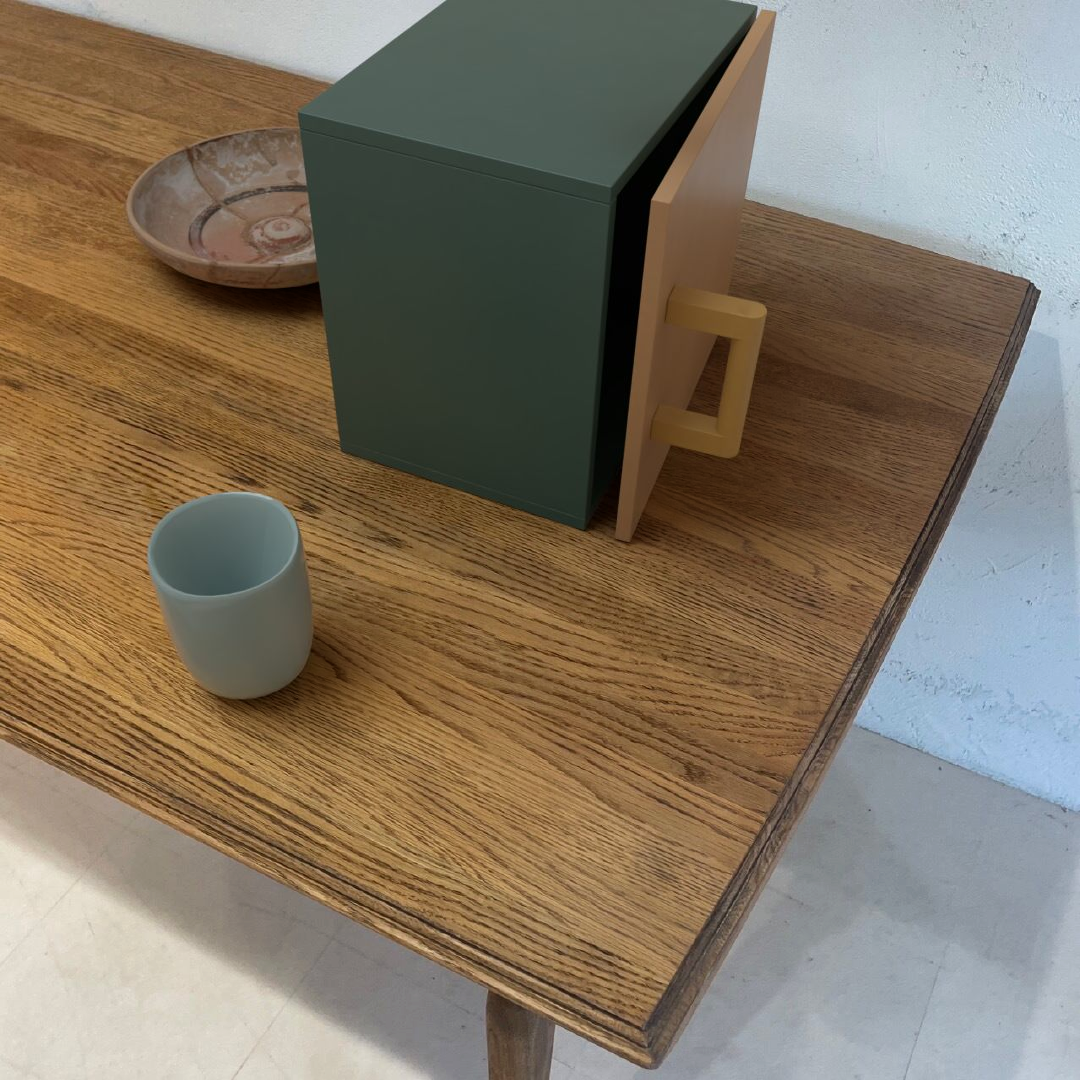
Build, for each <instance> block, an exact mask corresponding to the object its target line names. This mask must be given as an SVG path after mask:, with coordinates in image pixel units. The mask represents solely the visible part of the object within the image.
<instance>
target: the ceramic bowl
mask: <svg viewBox="0 0 1080 1080" xmlns="http://www.w3.org/2000/svg"><path fill="white" fill-rule="evenodd" d="M125 205H126V206H125V207H126V208H125V209H126V210H125V211H126V212H125V213H126V217H127V222H128V224H129V226H130V229H131V231H132V233H133V234H134V236H135V237H136V239H137V240H138V241H139V242H140V244H141V245H142V246H143V247H144V248H145V249H146V250H147V251H148V252H149V253H151V254H152V255H153V256H154V257H156V258H157V260H159V261H161V262H162V263H164V264H165V265H167V266H168V267H171V268H172V269H174V270H176V271H177V272H179V273H182V274H184V275H187V276H189V277H191V278H195V279H198V280H201V281H204V282H207V283H212V284H216V285H221V286H227V287H235V288H245V289H284V288H285V289H286V288H292V287H303V286H307V285H310V284H311V285H312V284H315V283H319V277H318V269H317V261H316V254H315V246H314V238H313V230H312V223H311V215H310V207H309V199H308V191H307V184H306V176H305V168H304V160H303V153H302V145H301V137H300V128H299V126H266V127H257V128H256V127H255V128H248V129H242V130H236V131H231V132H227V133H224V134H219V135H215V136H212V137H209V138H206V139H205V138H204V139H201V140H199V141H196V142H194V143H192V144H191V143H190V144H189V145H186V146H183V147H180V148H178V149H176V150H174V151H172V152H171V153H168V154H167V155H165V156H163V157H162V158H160V159H159V160H157V161H156V162H154V163H152V164H151V165H150V166H149V167H148V168H146V169H145V170H144V171H143V172H142V173H141V174H140V175H139V177H137V179H136V180H135V181H134V183H133V185H132V186H131V187H130V189H129V191H128V195H127V197H126V204H125Z"/></svg>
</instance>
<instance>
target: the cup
mask: <svg viewBox="0 0 1080 1080" xmlns="http://www.w3.org/2000/svg"><path fill="white" fill-rule="evenodd" d="M305 549H306V548H305V545H304V541H303V536H302V533H301V529H300V525H299V523H298V522H297V520H296V518H295V516H294V514H293V513H292V512H291V510H289V508H288V507H287V506H286V505H285V504H283V503H282V502H280V501H279V500H277V499H275V498H273V497H271V496H268V495H264V494H262V493H256V492H251V491H227V492H218V493H213V494H208V495H204V496H201V497H197V498H194V499H191V500H189V501H187V502H185V503H182V504H180V505H178V506H177V507H175V508H173V510H171V511H170V512H168V513H167V514H166V515H164V516H163V518H162V519H161V520H159V522H158V523H157V524H156V526H155V528H154V530H153V531H152V533H151V535H150V538H149V541H148V543H147V552H146V562H147V570H148V574H149V578H150V582H151V586H152V589H153V592H154V596H155V599H156V601H157V605H158V608H159V612H160V613H161V616H162V621H163V622H164V625H165V628H166V630H167V632H168V635H169V638H170V641H171V643H172V646H173V647H174V650H175V652H176V654H177V656H178V659H179V660H180V661H181V663H182V665H183V667H184V668H185V670H186V671H187V673H189V675H190V676H191V677H192V678H193V680H194V681H195V683H197V684H198V685H199V686H200V687H202V688H203V689H204V690H206V691H207V692H209V693H211V694H213V695H216V696H218V697H220V698H224V699H231V700H250V699H257V698H261V697H265V696H268V695H271V694H274V693H275V692H278V691H280V690H282V689H284V688H285V687H287V686H288V685H290V684H291V683H292V682H293V681H294V680H295V679H297V677H298V676H299V675H300V673H301V672H302V670H303V669H304V668H305V666H306V664H307V661H308V660H309V657H310V654H311V651H312V645H313V639H314V630H315V629H314V628H315V624H314V623H315V622H314V602H313V592H312V586H311V578H310V572H309V565H308V561H307V555H306V554H307V553H306V550H305Z"/></svg>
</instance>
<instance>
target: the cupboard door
mask: <svg viewBox="0 0 1080 1080" xmlns="http://www.w3.org/2000/svg"><path fill="white" fill-rule="evenodd" d="M776 19H777V11H776V10H772V9H771V10H770V9H765V8H764V9H763V8H762V9H761V10H760V11H759V14H757V16H756V20H755V22H754V24H753V25H752V27H751V29H750V31H749V32H748V34H747V36H746V38H745V39H744V41H743V43H742V44H741V46H740V48H739V50H738V51H737V53H736V55H735V56H734V58H733V60H732V62H731V63H730V65H729V67H728V69H727V70H726V72H725V74H724V75H723V77H722V79H721V81H720V82H719V84H718V86H717V87H716V89H715V91H714V93H713V94H712V96H711V98H710V100H709V101H708V103H707V105H706V106H705V108H704V110H703V112H702V113H701V115H700V117H699V119H698V120H697V122H696V124H695V125H694V127H693V129H692V131H691V132H690V134H689V136H688V137H687V139H686V141H685V143H684V144H683V146H682V148H681V150H680V151H679V153H678V155H677V156H676V158H675V160H674V162H673V163H672V165H671V167H670V168H669V170H668V172H667V174H666V175H665V177H664V179H663V181H662V182H661V184H660V186H659V187H658V189H657V191H656V193H655V194H654V196H653V198H652V199H651V208H650V217H649V226H648V236H647V245H646V254H645V264H644V273H643V282H642V292H641V301H640V310H639V320H638V329H637V338H636V347H635V357H634V366H633V375H632V385H631V394H630V403H629V413H628V422H627V431H626V441H625V450H624V459H623V465H622V467H621V479H620V488H619V497H618V507H617V515H616V516H617V517H616V523H615V524H616V526H615V533H614V534H615V535H614V539H616V540H619V541H623V542H626V543H631V540H632V538H633V535H634V534H635V531H636V529H637V526H638V524H639V522H640V519H641V517H642V514H643V512H644V510H645V508H646V506H647V502H648V501H649V499H650V496H651V493H652V491H653V489H654V486H655V484H656V482H657V479H658V477H659V475H660V472H661V470H662V468H663V465H664V463H665V462H666V461H665V460H666V458H667V455H668V453H669V450H670V448H671V446H676V447H679V448H683V449H686V450H687V449H688V450H691V451H695V452H698V453H704V454H706V455H711V456H715V457H718V458H723V459H731V458H734V457H736V456H737V455H738V454H739V452H740V447H741V442H742V437H743V433H744V427H745V423H746V418H747V412H748V409H749V403H750V398H751V393H752V389H753V388H752V387H753V383H754V378H755V375H756V374H755V373H756V369H757V363H758V358H759V353H760V348H761V344H762V338H763V335H764V334H763V333H764V329H765V325H766V319H767V315H768V310H767V308H766V306H765V305H764V304H762V303H760V302H758V301H754V300H748V299H746V298H745V299H744V298H740V297H736V296H731V295H729V293H730V288H731V281H732V277H733V276H732V275H733V270H734V264H735V258H736V252H737V247H738V242H739V241H738V240H739V234H740V229H741V223H742V217H743V212H744V206H745V200H746V194H747V187H748V182H749V177H750V171H751V165H752V159H753V154H754V148H755V141H756V136H757V130H758V123H759V118H760V112H761V106H762V101H763V96H764V95H763V94H764V90H765V83H766V77H767V73H768V72H767V71H768V65H769V60H770V55H771V54H770V53H771V48H772V43H773V36H774V32H775V31H774V30H775V26H776ZM719 336H720V337H725V338H729V339H731V340H730V345H729V351H728V358H727V362H726V368H725V374H724V379H723V384H722V390H721V396H720V402H719V407H718V412H717V417H716V416H713V415H712V416H711V415H707V414H703V413H699V412H695V411H691V410H687V409H688V407H689V404H690V402H691V399H692V397H693V395H694V393H695V390H696V388H697V385H698V383H699V380H700V378H701V376H702V373H703V371H704V369H705V367H706V364H707V361H708V360H709V357H710V354H711V352H712V350H713V348H714V346H715V344H716V340H717V339H718V337H719Z"/></svg>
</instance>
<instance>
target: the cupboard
mask: <svg viewBox="0 0 1080 1080" xmlns="http://www.w3.org/2000/svg"><path fill="white" fill-rule="evenodd" d="M758 8H759V6H758V5H756V4H752V3H746V2H741V1H736V0H444V1H443V2H441V3H440V4H439V5H438V6H436V7H434V8H433V9H432V10H431V11H430V12H428V13H427V14H426V15H424V16H423V17H421V19H419V20H417V21H416V22H414V24H413V25H411V26H410V27H408V28H406V30H404V31H402V33H400V34H398V36H396V37H395V38H393V39H392V40H391V41H389V42H388V43H387V44H385V45H384V46H382V47H381V48H380V49H378V50H377V51H376V52H374V53H373V54H372V55H371V56H369V57H368V58H367V59H365V60H364V61H362V63H360V64H358V65H357V66H355V68H353V69H352V70H350V71H349V72H348V73H347V74H345V75H344V76H342V77H341V78H340V79H338V80H337V81H336V82H335V83H333V84H332V85H331V86H329V87H328V88H327V89H325V90H324V91H323V92H321V93H320V94H318V95H317V96H316V97H314V98H313V99H312V100H311V101H309V102H307V104H305V105H304V106H303V107H300V109H298V110H297V121H298V127H299V128H300V137H301V145H302V153H303V160H304V168H305V176H306V184H307V191H308V199H309V207H310V215H311V223H312V230H313V238H314V246H315V254H316V261H317V269H318V277H319V282H318V284H319V291H320V293H319V294H320V300H321V308H322V314H323V316H322V317H323V323H324V330H325V340H326V346H327V354H328V355H327V356H328V363H329V369H330V377H331V386H332V393H333V400H334V401H333V402H334V408H335V416H336V424H337V432H338V433H337V434H338V440H339V448H340V451H341V452H342V453H346V454H348V455H351V456H355V457H359V458H361V459H364V460H367V461H370V462H374V463H376V464H379V465H382V466H385V467H388V468H391V469H394V470H397V471H401V472H404V473H406V474H407V473H408V474H410V475H413V476H415V477H419V478H421V479H426V480H429V481H432V482H435V483H438V484H441V485H444V486H447V487H450V488H452V489H456V490H459V491H462V492H466V493H468V494H471V495H474V496H477V497H480V498H483V499H486V500H489V501H493V502H496V503H498V504H501V505H504V506H507V507H511V508H514V509H517V510H520V511H522V512H526V513H529V514H532V515H535V516H538V517H542V518H545V519H548V520H551V521H553V522H557V523H559V524H563V525H565V526H568V527H572V528H576V529H579V530H581V531H585V530H586V529H587V527H588V525H589V523H590V522H591V520H592V518H593V517H594V515H595V513H596V511H597V510H598V508H599V506H600V505H601V503H602V501H603V500H604V499H605V496H606V495H607V493H608V491H609V489H610V487H611V486H612V484H613V482H615V480H616V477H617V476H618V474H619V472H620V470H622V468H623V459H624V450H625V441H626V431H627V422H628V413H629V403H630V394H631V385H632V375H633V366H634V357H635V347H636V338H637V329H638V320H639V310H640V301H641V292H642V282H643V273H644V264H645V254H646V245H647V236H648V226H649V217H650V208H651V199H652V198H653V196H654V194H655V193H656V191H657V189H658V187H659V186H660V184H661V182H662V181H663V179H664V177H665V175H666V174H667V172H668V170H669V168H670V167H671V165H672V163H673V162H674V160H675V158H676V156H677V155H678V153H679V151H680V150H681V148H682V146H683V144H684V143H685V141H686V139H687V137H688V136H689V134H690V132H691V131H692V129H693V127H694V125H695V124H696V122H697V120H698V119H699V117H700V115H701V113H702V112H703V110H704V108H705V106H706V105H707V103H708V101H709V100H710V98H711V96H712V94H713V93H714V91H715V89H716V87H717V86H718V84H719V82H720V81H721V79H722V77H723V75H724V74H725V72H726V70H727V69H728V67H729V65H730V63H731V62H732V60H733V58H734V56H735V55H736V53H737V51H738V50H739V48H740V46H741V44H742V43H743V41H744V39H745V38H746V36H747V34H748V32H749V31H750V29H751V27H752V25H753V24H754V22H755V20H756V19H757V17H758Z"/></svg>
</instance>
